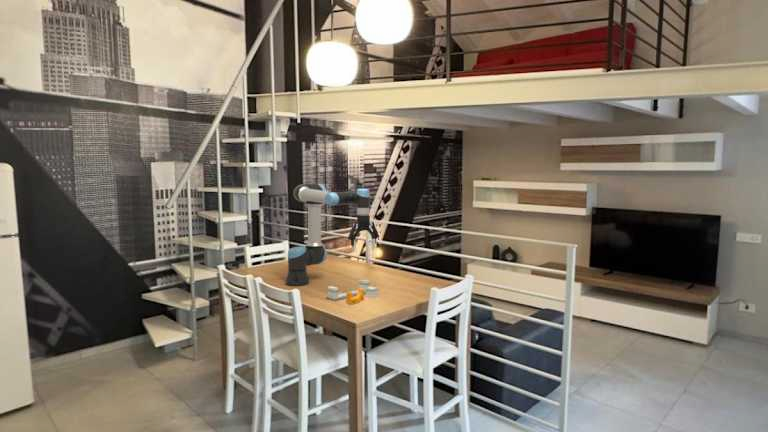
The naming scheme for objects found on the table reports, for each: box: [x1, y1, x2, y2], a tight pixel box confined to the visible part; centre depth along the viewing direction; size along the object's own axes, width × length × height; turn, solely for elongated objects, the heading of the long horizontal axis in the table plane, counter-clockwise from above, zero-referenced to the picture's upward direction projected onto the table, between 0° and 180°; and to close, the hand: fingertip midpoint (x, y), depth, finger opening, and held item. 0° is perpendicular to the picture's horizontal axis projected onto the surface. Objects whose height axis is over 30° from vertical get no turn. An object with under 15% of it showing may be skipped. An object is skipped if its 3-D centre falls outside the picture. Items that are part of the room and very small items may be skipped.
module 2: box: [358, 279, 371, 291], centre depth 302 cm, size 6×3×6 cm, turn 46°
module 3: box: [365, 286, 379, 299], centre depth 292 cm, size 5×5×5 cm
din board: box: [326, 289, 366, 302], centre depth 293 cm, size 8×28×1 cm, turn 136°
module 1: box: [326, 285, 339, 299], centre depth 284 cm, size 6×3×6 cm, turn 45°
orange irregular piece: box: [345, 288, 365, 306], centre depth 279 cm, size 12×4×6 cm, turn 141°
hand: (363, 250), depth 294 cm, fingers open, 13 cm apart
